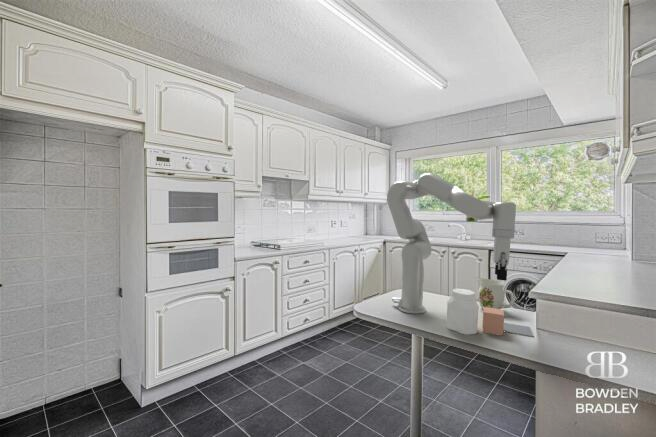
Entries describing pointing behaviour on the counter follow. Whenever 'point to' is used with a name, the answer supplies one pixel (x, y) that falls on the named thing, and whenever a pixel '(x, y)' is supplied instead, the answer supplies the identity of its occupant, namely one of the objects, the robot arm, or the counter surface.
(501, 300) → the pitcher
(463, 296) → the jar
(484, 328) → the salmon pink block
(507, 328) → the mat
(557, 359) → the counter surface
